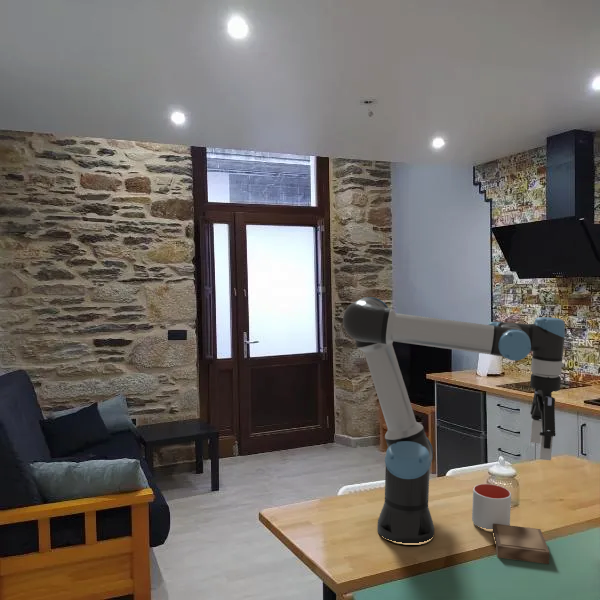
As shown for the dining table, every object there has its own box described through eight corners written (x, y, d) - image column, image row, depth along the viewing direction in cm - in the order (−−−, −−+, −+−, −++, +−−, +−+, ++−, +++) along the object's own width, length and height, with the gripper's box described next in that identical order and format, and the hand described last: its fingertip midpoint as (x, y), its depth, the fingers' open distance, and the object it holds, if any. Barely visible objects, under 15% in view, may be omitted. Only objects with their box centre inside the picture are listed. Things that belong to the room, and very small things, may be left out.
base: (497, 557, 139) (497, 545, 139) (492, 534, 151) (492, 522, 151) (549, 564, 136) (549, 551, 136) (539, 539, 148) (540, 528, 148)
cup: (512, 536, 150) (514, 500, 149) (473, 532, 152) (475, 496, 151) (506, 519, 160) (507, 485, 159) (470, 515, 162) (471, 482, 161)
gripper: (572, 386, 138) (565, 469, 140) (550, 366, 162) (545, 437, 164) (540, 383, 140) (533, 465, 141) (523, 364, 164) (518, 434, 166)
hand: (539, 450), depth 153 cm, fingers open, 13 cm apart
